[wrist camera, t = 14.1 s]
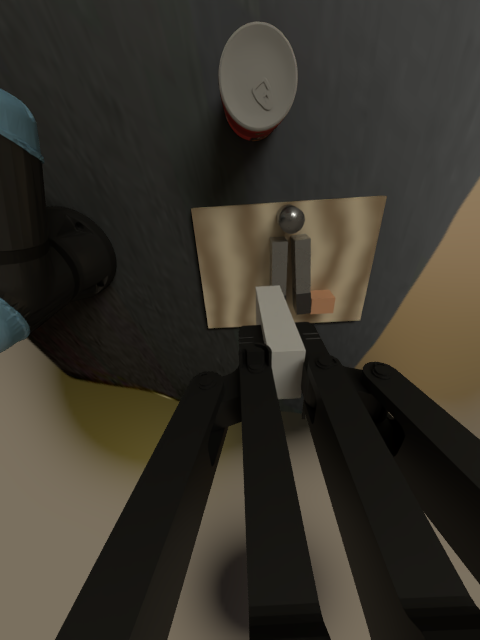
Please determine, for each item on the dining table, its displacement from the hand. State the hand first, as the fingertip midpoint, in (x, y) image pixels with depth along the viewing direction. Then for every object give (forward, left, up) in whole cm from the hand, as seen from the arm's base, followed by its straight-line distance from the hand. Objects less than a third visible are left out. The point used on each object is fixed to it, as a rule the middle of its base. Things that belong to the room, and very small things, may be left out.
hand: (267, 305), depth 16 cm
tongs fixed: (+5, -6, -28) cm, 29 cm away
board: (+6, -8, -29) cm, 31 cm away
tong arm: (+8, -8, -28) cm, 30 cm away
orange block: (+12, -14, -28) cm, 33 cm away
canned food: (+1, +15, -29) cm, 33 cm away
